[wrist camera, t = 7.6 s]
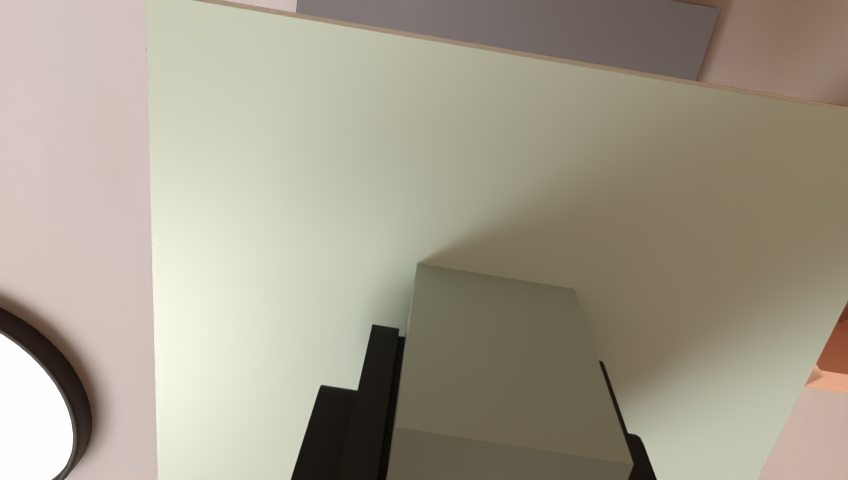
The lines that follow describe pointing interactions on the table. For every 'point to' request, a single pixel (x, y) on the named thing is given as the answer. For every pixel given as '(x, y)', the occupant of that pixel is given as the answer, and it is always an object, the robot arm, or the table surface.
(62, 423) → the magnifying glass
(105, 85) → the table surface
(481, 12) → the mat
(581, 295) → the cover
